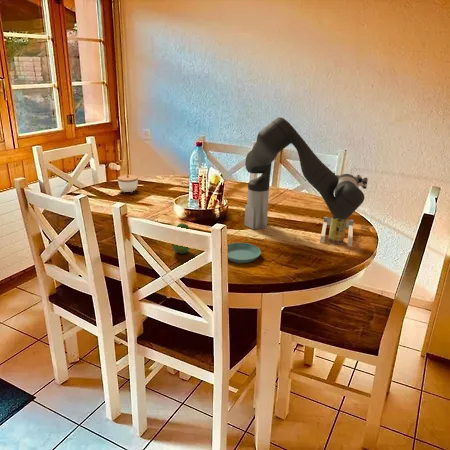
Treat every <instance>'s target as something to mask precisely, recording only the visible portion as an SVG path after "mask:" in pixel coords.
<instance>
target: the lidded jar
mask: <svg viewBox="0 0 450 450" xmlns="http://www.w3.org/2000/svg"><path fill="white" fill-rule="evenodd" d="M138 181H139V177H138V176H137V175H134V174H133V175H132V174H123V175H120V176H118V177H117V183H118V186H119V188H120V190H121V191H122V192H123V193H125V192H131V193H134V192H135V190H136V189H137V188H138V185H139V183H138ZM133 191H134V192H133Z"/></svg>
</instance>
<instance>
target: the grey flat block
mask: <svg viewBox="0 0 450 450" xmlns="http://www.w3.org/2000/svg"><path fill="white" fill-rule="evenodd" d="M331 218H332V217H328V219H327V227H330V224H331ZM349 223H350V219H347V225H346V229H349Z"/></svg>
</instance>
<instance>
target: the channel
mask: <svg viewBox="0 0 450 450" xmlns="http://www.w3.org/2000/svg"><path fill="white" fill-rule="evenodd" d="M328 218H329V217H328V216H323V223H322V229H321V234H320V239H319V243H322V244H324V243H325V239H326V232H327V227H328V226H327V219H328ZM354 222H355V221H354V219H349V228H348V231H347V233H348V234H347V247H349V248H350V247H352V246H353V240H354V239H353V235H354V233H353V231H354Z"/></svg>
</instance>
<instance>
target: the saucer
mask: <svg viewBox="0 0 450 450" xmlns="http://www.w3.org/2000/svg"><path fill="white" fill-rule="evenodd" d="M227 245H228V259H227V260H229V261H231V262H233V263H237V264H246V263H252V262H253V261H255V260H257V259H258V258H259V256H261V253H262V251H261V249H260V248H259V247H258V246H256V245H254V244H252V243H247V242H232V243H228V244H227Z"/></svg>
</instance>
